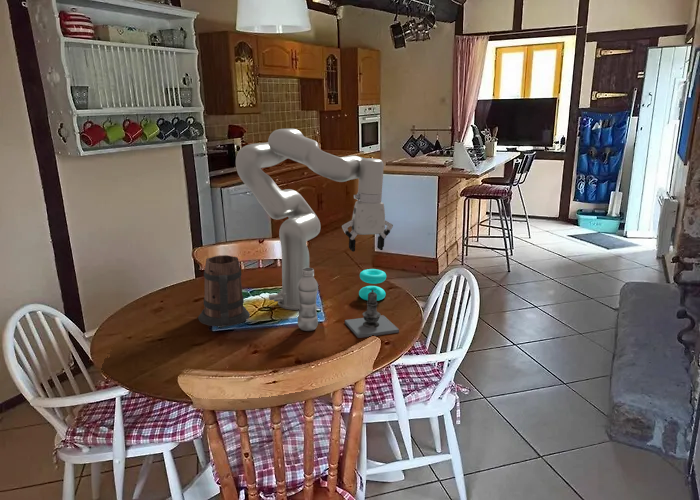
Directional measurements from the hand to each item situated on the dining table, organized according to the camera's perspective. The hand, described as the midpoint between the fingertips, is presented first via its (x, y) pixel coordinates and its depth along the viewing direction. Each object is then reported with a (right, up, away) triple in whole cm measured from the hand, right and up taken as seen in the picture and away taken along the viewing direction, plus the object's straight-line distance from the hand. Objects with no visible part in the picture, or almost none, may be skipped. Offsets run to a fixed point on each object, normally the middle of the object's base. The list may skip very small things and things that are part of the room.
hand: (366, 249), depth 169 cm
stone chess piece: (+1, -24, -1) cm, 25 cm away
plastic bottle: (-19, -25, -4) cm, 32 cm away
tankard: (-47, -23, +2) cm, 52 cm away
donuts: (+3, -18, +25) cm, 31 cm away
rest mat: (+2, -25, -1) cm, 25 cm away
